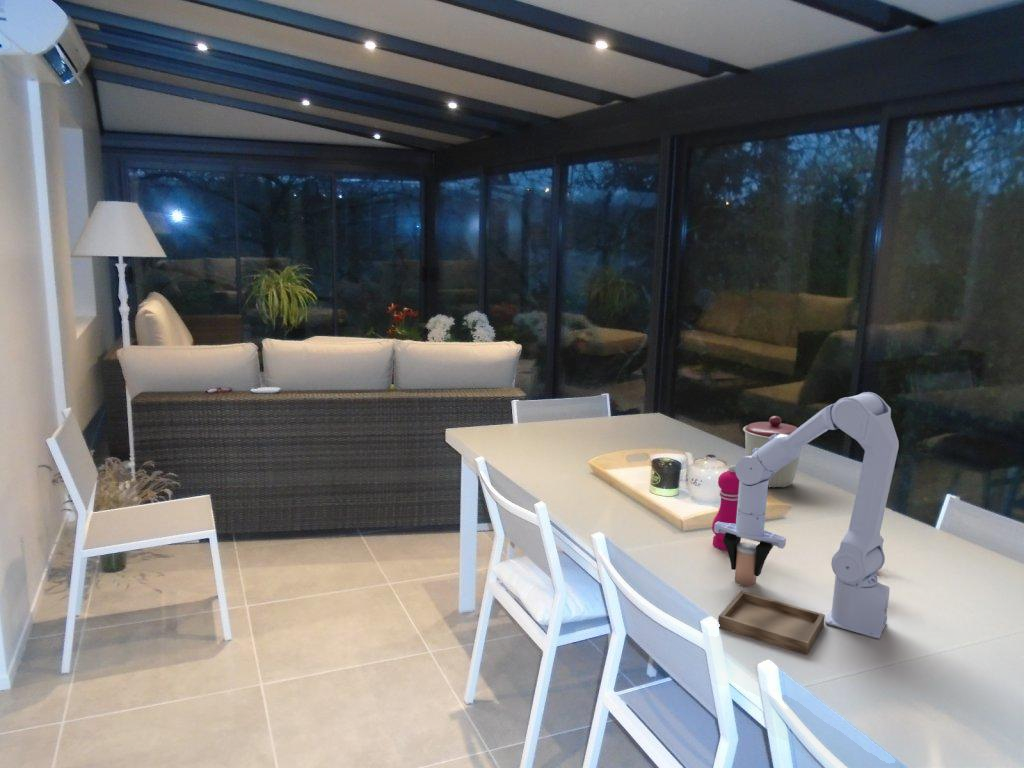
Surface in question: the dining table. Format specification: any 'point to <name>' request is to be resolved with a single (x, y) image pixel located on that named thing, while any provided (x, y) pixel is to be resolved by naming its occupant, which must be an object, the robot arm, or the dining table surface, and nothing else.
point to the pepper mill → (726, 503)
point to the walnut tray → (772, 622)
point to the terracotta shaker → (745, 564)
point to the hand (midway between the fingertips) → (746, 571)
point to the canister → (759, 436)
